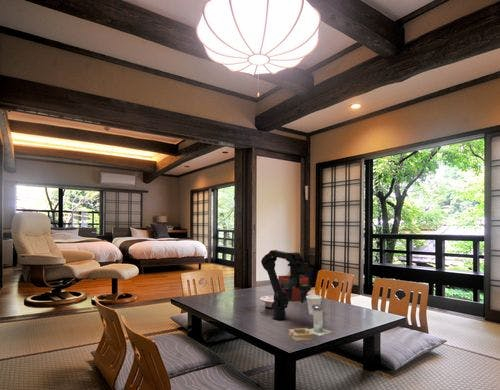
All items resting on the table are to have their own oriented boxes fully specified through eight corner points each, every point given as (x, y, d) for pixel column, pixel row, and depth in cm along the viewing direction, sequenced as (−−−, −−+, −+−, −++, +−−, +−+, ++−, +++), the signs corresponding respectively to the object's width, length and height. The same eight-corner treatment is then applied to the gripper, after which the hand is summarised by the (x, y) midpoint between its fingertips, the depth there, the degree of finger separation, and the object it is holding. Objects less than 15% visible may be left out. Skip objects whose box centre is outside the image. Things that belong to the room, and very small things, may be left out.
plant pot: (278, 297, 256) (277, 275, 258) (301, 296, 260) (300, 274, 261) (284, 302, 238) (284, 279, 239) (309, 301, 241) (309, 278, 243)
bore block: (288, 335, 168) (288, 329, 168) (306, 333, 170) (306, 327, 171) (295, 342, 158) (295, 335, 159) (314, 340, 161) (314, 334, 161)
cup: (319, 312, 212) (319, 295, 213) (323, 316, 202) (323, 298, 203) (304, 312, 212) (304, 295, 213) (308, 316, 202) (307, 298, 203)
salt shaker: (312, 332, 171) (311, 307, 172) (313, 328, 176) (312, 304, 177) (323, 333, 169) (323, 307, 170) (324, 329, 175) (323, 305, 176)
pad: (305, 331, 174) (305, 330, 174) (317, 328, 180) (317, 327, 180) (319, 336, 166) (319, 335, 166) (332, 332, 172) (332, 331, 172)
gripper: (274, 274, 190) (274, 301, 188) (297, 277, 176) (299, 306, 174) (287, 272, 198) (288, 299, 196) (311, 275, 183) (312, 303, 181)
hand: (296, 301), depth 187 cm, fingers open, 9 cm apart
